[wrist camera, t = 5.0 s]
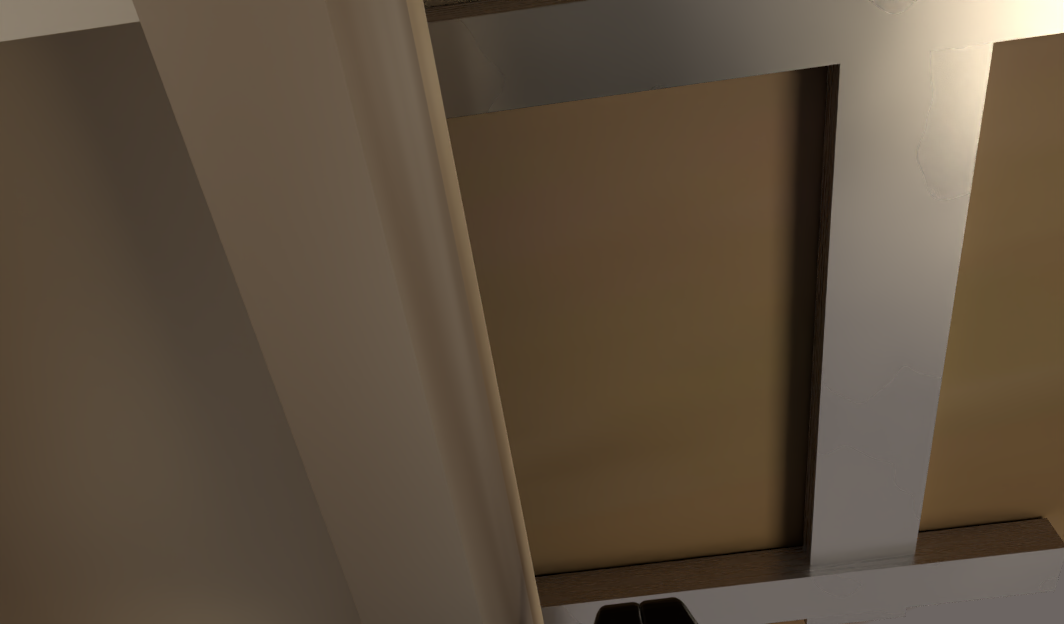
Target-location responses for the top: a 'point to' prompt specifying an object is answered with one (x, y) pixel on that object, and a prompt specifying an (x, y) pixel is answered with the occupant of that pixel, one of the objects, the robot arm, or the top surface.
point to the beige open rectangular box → (243, 325)
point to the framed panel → (842, 272)
